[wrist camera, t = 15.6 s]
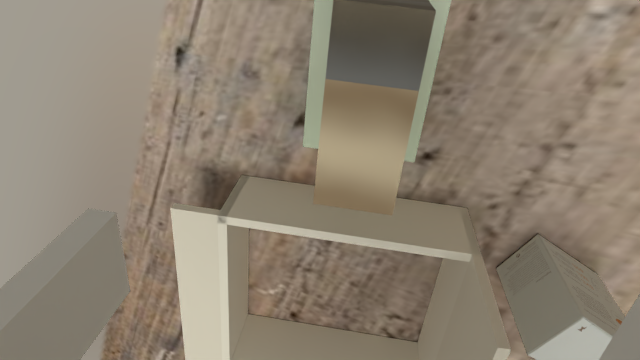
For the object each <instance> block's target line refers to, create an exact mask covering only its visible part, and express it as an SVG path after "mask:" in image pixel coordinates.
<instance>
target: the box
mask: <svg viewBox="0 0 640 360" xmlns="http://www.w3.org/2000/svg"><path fill="white" fill-rule="evenodd" d="M435 14H436V10H435V9H434V7H433V6H432V5H431V3H430V2H429V0H333V8H332V18H331V28H330V38H329V48H328V58H327V68H326V78H325V88H324V98H323V108H322V118H321V128H320V138H319V148H318V158H317V168H316V178H315V188H314V198H313V204H319V205H325V206H332V207H339V208H345V209H352V210H359V211H366V212H372V213H379V214H386V215H393V210H394V205H395V201H396V196H397V191H398V187H399V182H400V177H401V173H402V168H403V163H404V159H405V154H406V149H407V145H408V140H409V135H410V131H411V126H412V121H413V117H414V112H415V107H416V103H417V98H418V93H419V88H420V84H421V79H422V74H423V70H424V65H425V60H426V56H427V51H428V46H429V42H430V37H431V32H432V28H433V23H434V18H435Z"/></svg>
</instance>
